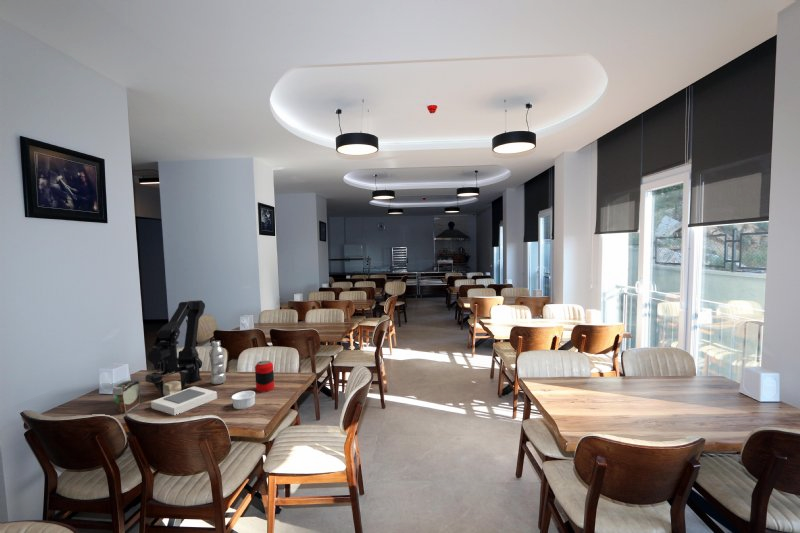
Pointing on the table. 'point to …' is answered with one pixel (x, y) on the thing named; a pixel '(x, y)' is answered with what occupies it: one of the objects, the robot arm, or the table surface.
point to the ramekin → (243, 399)
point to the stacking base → (183, 400)
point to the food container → (127, 395)
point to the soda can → (264, 376)
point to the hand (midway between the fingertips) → (172, 391)
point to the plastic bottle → (217, 363)
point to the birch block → (171, 387)
